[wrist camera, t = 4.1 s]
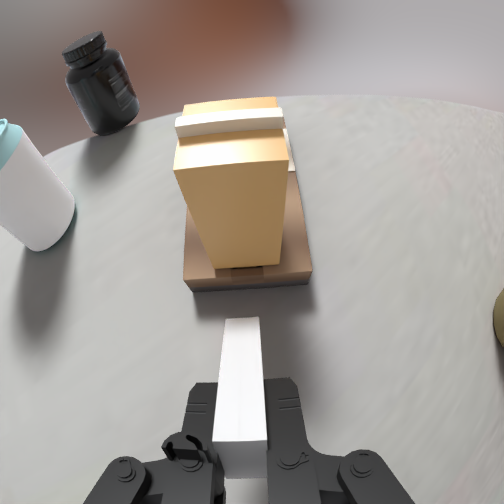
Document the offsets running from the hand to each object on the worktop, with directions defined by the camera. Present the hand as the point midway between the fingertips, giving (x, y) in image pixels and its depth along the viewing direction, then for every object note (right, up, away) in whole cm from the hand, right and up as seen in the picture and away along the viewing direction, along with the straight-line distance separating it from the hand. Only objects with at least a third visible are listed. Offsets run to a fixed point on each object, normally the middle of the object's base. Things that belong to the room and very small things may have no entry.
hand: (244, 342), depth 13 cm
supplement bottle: (-17, +21, +17) cm, 31 cm away
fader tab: (0, +4, +7) cm, 8 cm away
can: (-20, +7, +11) cm, 23 cm away
